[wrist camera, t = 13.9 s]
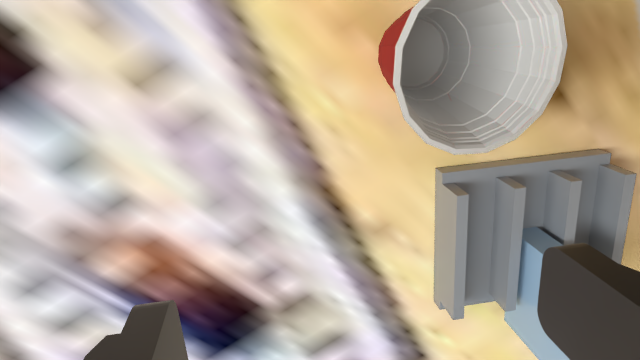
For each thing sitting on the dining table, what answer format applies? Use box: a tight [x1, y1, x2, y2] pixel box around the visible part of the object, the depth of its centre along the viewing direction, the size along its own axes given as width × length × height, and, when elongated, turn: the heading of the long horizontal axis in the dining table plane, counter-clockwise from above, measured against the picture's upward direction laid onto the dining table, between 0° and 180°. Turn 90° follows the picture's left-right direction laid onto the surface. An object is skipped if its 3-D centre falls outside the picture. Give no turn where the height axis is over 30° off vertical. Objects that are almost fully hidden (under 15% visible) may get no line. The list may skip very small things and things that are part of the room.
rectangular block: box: [504, 227, 570, 360], centre depth 38 cm, size 10×2×11 cm, turn 4°
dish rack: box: [434, 149, 636, 320], centre depth 41 cm, size 14×16×4 cm
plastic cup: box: [378, 0, 567, 155], centre depth 30 cm, size 11×11×12 cm
